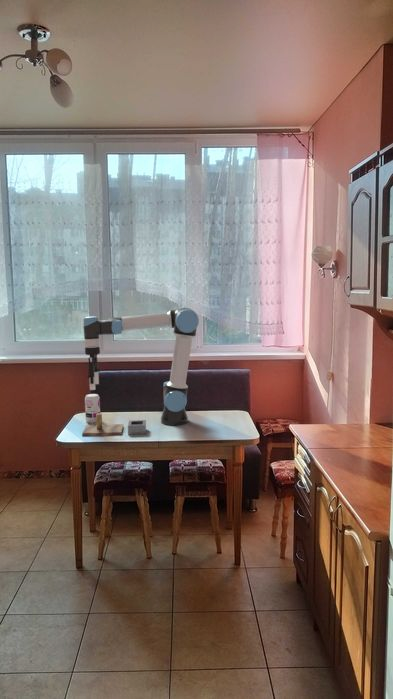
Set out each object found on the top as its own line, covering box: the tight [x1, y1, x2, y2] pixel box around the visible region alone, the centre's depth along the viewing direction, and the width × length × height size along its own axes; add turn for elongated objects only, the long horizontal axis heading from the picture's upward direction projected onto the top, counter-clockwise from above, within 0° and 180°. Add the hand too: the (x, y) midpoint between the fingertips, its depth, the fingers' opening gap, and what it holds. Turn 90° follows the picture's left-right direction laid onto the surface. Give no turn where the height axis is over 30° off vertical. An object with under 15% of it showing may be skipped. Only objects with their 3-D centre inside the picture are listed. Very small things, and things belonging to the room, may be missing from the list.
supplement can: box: [84, 393, 101, 424], centre depth 283 cm, size 8×8×15 cm
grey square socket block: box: [127, 419, 147, 436], centre depth 263 cm, size 9×9×5 cm
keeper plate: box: [81, 412, 124, 437], centre depth 265 cm, size 20×14×10 cm
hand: (94, 386), depth 261 cm, fingers open, 13 cm apart
